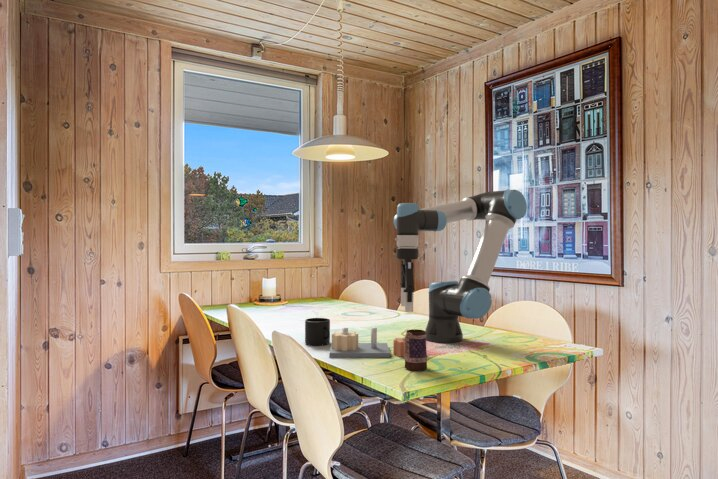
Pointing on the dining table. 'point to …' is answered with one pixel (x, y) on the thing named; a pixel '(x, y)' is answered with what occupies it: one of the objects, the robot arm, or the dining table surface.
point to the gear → (399, 347)
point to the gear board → (356, 345)
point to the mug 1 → (317, 331)
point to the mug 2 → (415, 350)
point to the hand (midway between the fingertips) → (406, 308)
